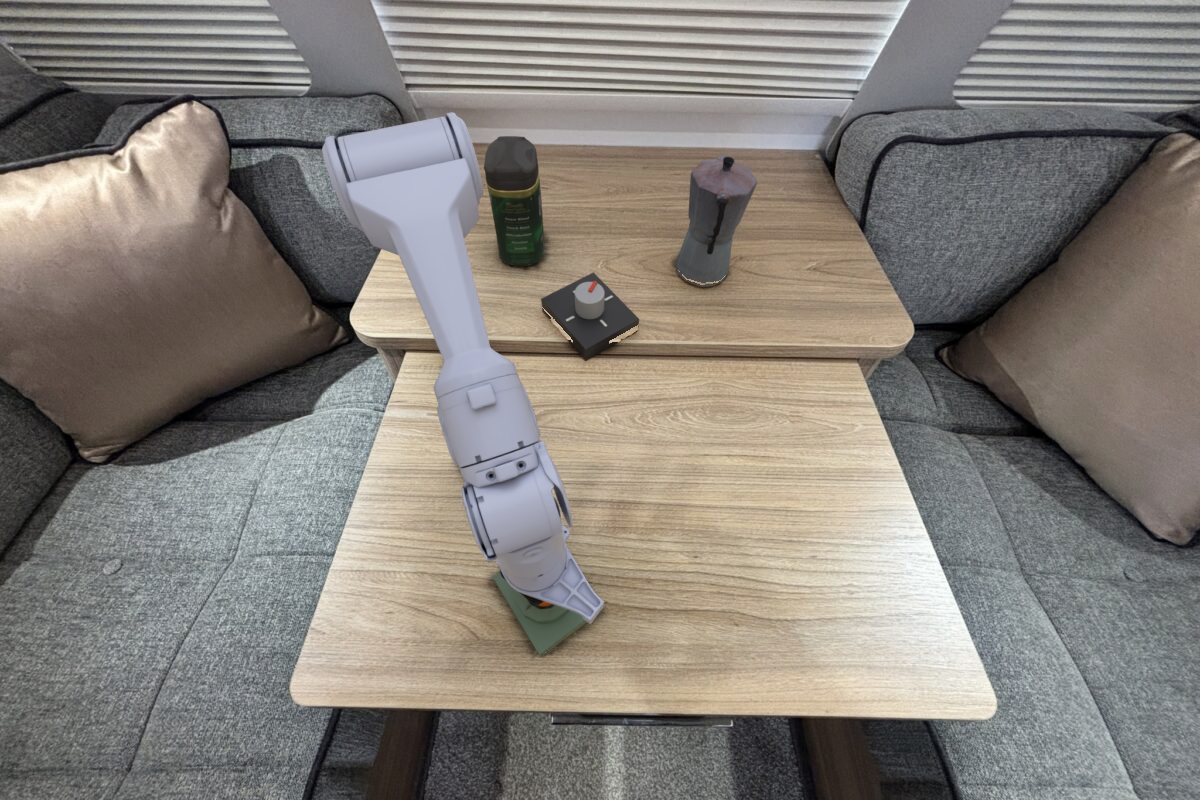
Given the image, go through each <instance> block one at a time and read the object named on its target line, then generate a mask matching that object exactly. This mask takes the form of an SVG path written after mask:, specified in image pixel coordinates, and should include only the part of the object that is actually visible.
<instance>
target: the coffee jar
mask: <svg viewBox="0 0 1200 800" xmlns="http://www.w3.org/2000/svg"><path fill="white" fill-rule="evenodd" d="M483 170H484V174H485V175H484V176H485V182H486V186H487V191H488V196H489V201H490V202H489V203H490V207H491V213H492V218H493V225H494V230H495V235H496V244H497V248H498V255H499V258H500V260H501V261H502V262H503V263H504V264H506V265H510V266H514V267H528V266H531V265H535V264H537V263H539V262H540V261H541V260H542V259H543V256H544V252H545V246H546V245H545V243H546V242H545V230H544V217H543V201H542V200H543V199H542V190H541V180H540V169H539V160H538V153H537V148H536V146H535V145H534V144H533V143H532V142H531V141H530V140H529V139H527V138H526V137H525V136H517V135H505V136H504V135H503V136H502V135H500V136H498V137H497V138H496V139H495V140H493V141H492V142H491V143H490V144H489V145H488V146H487V149H486V152H485V156H484V163H483Z"/></svg>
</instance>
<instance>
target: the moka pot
mask: <svg viewBox="0 0 1200 800" xmlns="http://www.w3.org/2000/svg"><path fill="white" fill-rule="evenodd" d="M689 181H690V182H689V194H688V195H689V197H688V215H687V217H688V219H689V224H688V229H687V231H686V234H685V236H684V238H683V242H682V244H681V247H680V251H679V253H678V254H677V258H676V263H675V271H676V272H677V274H678V275H679V277H680V278H682V280H684V281H685V282H687V283H689V284H690V285H694V286H697V287H700V288H706V287H713V286H717V285H719V284H721V283H722V282H723V281H724V280H725V279H727V278H728V275H729V271H730V270H729V268H730V261H731V255H732V254H731V253H732V246H733V237H734V235H735V232H736V229H737V227H738V226H739V225H740V223H741V221H742V219H743V216H744V214H745V212H746V211H747V207H748V205H749V203H750V200H751V198H752V196H753V194H754V192H755V189H756V187H757V185H758V180H757V178H756V176H755V175H754V174H753V172H752V170H751V168H750V167H749V166H748V165H745V164H743V163H740V162H737V161H736V160H735V159H734V157H733V156H732V155H724V154H720V155H719V156H718V157H717V158H713V159H712V158H711V159H702V160H701V161H700V162H699V163H698V164H697V165H696V166H695V167H694V169H692V170H691V173H690V179H689ZM678 270H679V271H680V272H679V271H678ZM682 274H683V275H684V276H685V277H686V278H687V279H691V280H694V281H697V282H701V283H706V282H714V281H715V282H716V281H719V280H721V279H722V278H723V277H724V276H725V275H726V276H725V277H724V278H723V279H722V280H721V281H719V282H718V283H713V284H705V285H700V284H697V283H695V282H691V281H689V280H686V279H685V278H684V277H683V276H682Z"/></svg>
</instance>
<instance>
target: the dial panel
mask: <svg viewBox="0 0 1200 800" xmlns="http://www.w3.org/2000/svg"><path fill="white" fill-rule="evenodd" d="M594 281H596V282H597V283H598V284H599V285H601V286H602V287H603V289H604V292H605V295H604V311H603V313H602V315H601V316H599V317H598V318H595V319H584V318H582V317H580V316H579V315H578V314H577V313H576V310H575V289H576V288H577V286H578V285H580V284H582V283H584V282H594ZM540 303H541V312H542V313H543V314H544V315H545V316H546V318H547V319H548V320H549V319H551V317H550V316H549V315H548V314H547V313H546V312H545V311H544V309H545V310H546V311H547V312H548V313H549V314H550V315H551V316H552V317H553V319H555V321H556V322H557V323H558V324H559V325H560V326H561V327H562V328H563V330H564V331H565V332H566V333H567V334H568V335H569V336H570V337H571V339H572V340H573V343H572V342H571V340H567V339H566V341H567V342H568V343H569V344H570V345H571V347H573V349H574V350H575V351H576V352H577V354H579V356H580V357H581V358H582V359H583V360H584V361H585V362H587V361H589V360H591V359H593V358H594V357H596V356H597V355H599V354H601V353H603V352H605V351H606V350H609V349H610V348H612V347H613V346H615V345H617V344H618V342H612V343H610V344H609V341H610V340H612V339H614V338H616V337H617V336H619V335H621V334H623V333H625V332H626V331H628V330H630V329H631V328H633V327H635V326H637V325H638V324H639V325H640V318H639V317H638V316H637V315H636V314H635V313H634V312H633V311H632V310H631V309H630V307H628V305H626V304H625V303H624V302H623V301H622V300H621V299H620V298H619V296H617V294H616V293H615V292H613V290H612V289H611V288H610V287H609V286H608V285H607V284H606V283H605V282H604V281H602V279H601V278H600V277H599V276H598V275H597V274H596V273H595V272H591V273H589V274H587V275H585V276H583V277H581V278H579V279H578V280H575V281H573V282H571V283H569V284H568V285H565V286H563V287H562V288H560V289H558V290H555V291H553V292H552V293H549V294H548V295H546V296H544V297H542V298H541V299H540ZM542 307H543V308H544V309H543V308H542ZM549 321H550V322H551V320H549Z"/></svg>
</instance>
